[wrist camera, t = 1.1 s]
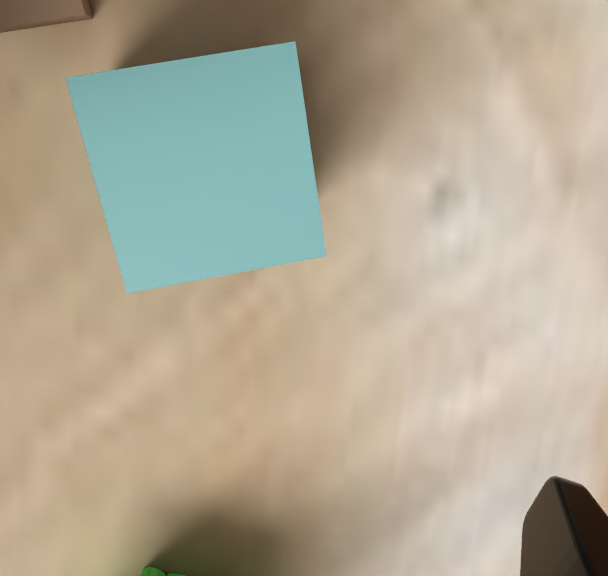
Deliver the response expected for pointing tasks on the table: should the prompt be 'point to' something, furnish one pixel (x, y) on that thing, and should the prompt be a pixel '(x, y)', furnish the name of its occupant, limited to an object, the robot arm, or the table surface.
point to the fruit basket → (157, 572)
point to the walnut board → (41, 13)
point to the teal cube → (202, 164)
